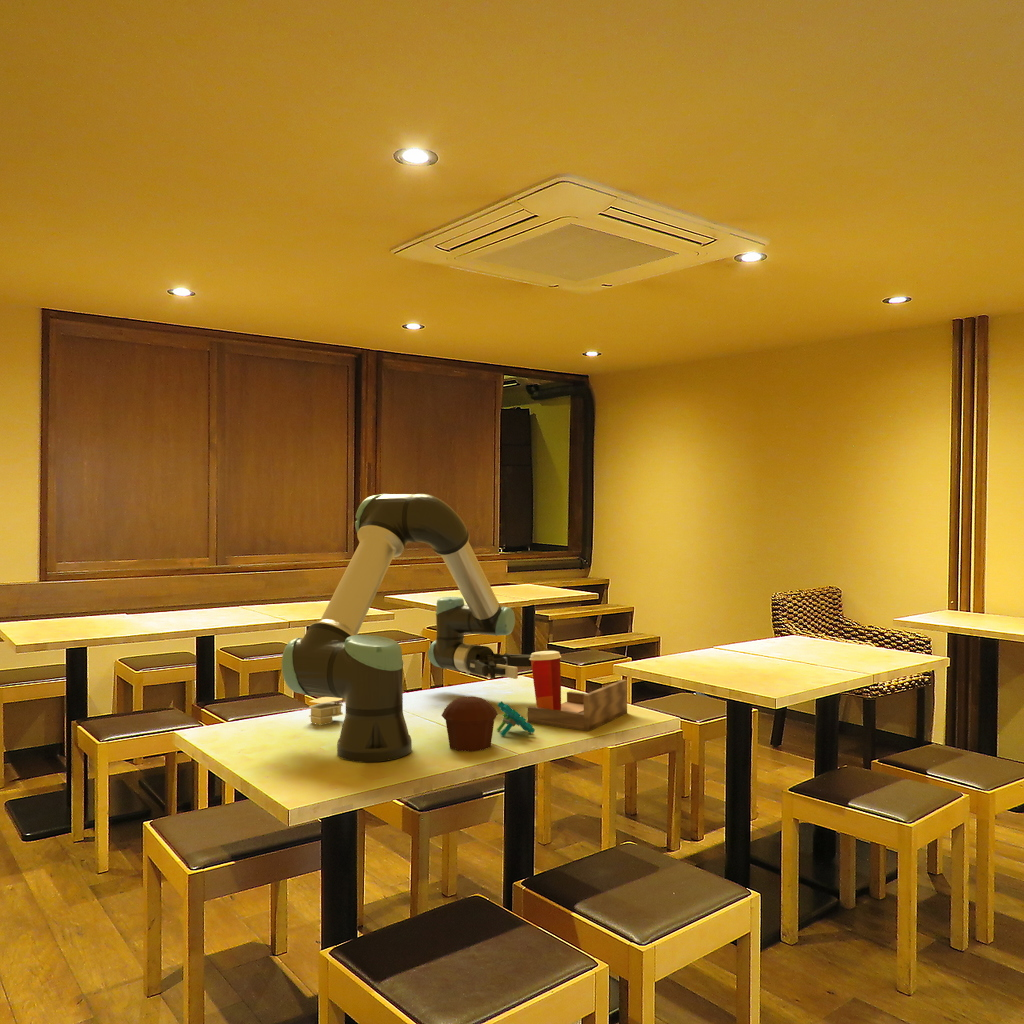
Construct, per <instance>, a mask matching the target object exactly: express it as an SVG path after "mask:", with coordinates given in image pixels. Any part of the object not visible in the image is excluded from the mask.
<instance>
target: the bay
mask: <svg viewBox="0 0 1024 1024" xmlns="http://www.w3.org/2000/svg"><path fill="white" fill-rule="evenodd" d="M626 714H628V680H627V679H620V680H618V681H615V682H613V683H610V684H608V685H606V686H602V687H600V688H598V689H595V690H593V691H590V692H587V693H585V692H576V691H567V692H566V701H565V702H561V710H554V709H547V708H539V707H537V706H533V705H532V706H531V705H529V706H527V723H530V724H536V725H537V724H538V725H543V726H550V727H558V728H563V729H570V730H571V729H572V730H576V731H577V730H578V731H583V732H590V731H592V730H595V729H597V728H599V727H601V726H603V725H605V724H608V723H609V722H611V721H614V720H616V719H618V718H620V717H622V716H624V715H626ZM615 718H616V719H615Z"/></svg>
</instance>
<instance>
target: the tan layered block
mask: <svg viewBox="0 0 1024 1024" xmlns="http://www.w3.org/2000/svg"><path fill="white" fill-rule="evenodd" d="M342 700H343V698H336V697H325V696H320V697H319V698H316V699H312V700H309V701H308V702H310V703H315V704H313V705H310V706H308V709H310V714H309V715H308V717H309V718H310V723H311V722H312V723H316V724H315V725H317V724H320V725H319V726H322V725H321V724H324V725H326V724H325V723H327V724H330V723H329V722H331V723H333V718H334V717H339V716H342V715H344V713H343V711H342V707H343V706H344V705H343V704H344V703H343V702H340V701H342ZM316 703H317V704H316ZM312 723H311V724H312Z"/></svg>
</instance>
